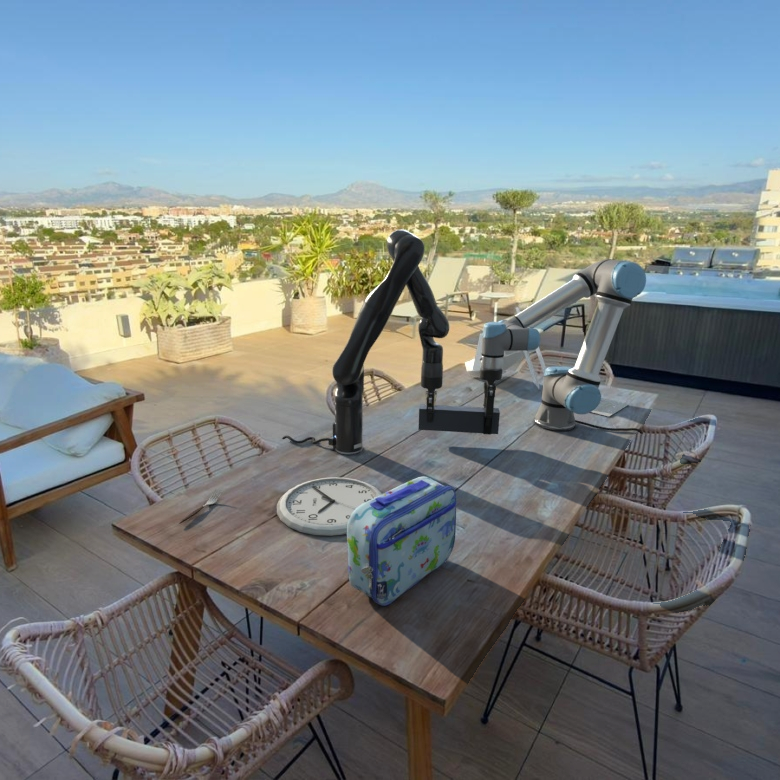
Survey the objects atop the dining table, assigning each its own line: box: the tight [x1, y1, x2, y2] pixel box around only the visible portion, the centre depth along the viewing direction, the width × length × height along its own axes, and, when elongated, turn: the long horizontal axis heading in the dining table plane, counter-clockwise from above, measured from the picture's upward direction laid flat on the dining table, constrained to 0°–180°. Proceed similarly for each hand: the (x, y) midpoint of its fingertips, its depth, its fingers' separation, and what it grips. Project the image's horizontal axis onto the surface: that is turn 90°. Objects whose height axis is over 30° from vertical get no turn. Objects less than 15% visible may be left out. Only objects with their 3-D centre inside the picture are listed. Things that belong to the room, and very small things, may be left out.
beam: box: [418, 403, 501, 435], centre depth 186 cm, size 28×5×8 cm, turn 83°
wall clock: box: [276, 476, 384, 537], centre depth 142 cm, size 30×2×30 cm
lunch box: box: [346, 475, 457, 607], centre depth 111 cm, size 26×11×21 cm, turn 134°
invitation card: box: [590, 398, 629, 418], centre depth 226 cm, size 21×1×15 cm
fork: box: [178, 489, 223, 525], centre depth 139 cm, size 3×16×2 cm, turn 160°
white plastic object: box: [464, 306, 547, 390], centre depth 260 cm, size 37×45×31 cm
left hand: (430, 419), depth 187 cm, fingers closed on beam, 5 cm apart
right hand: (486, 430), depth 186 cm, fingers closed on beam, 5 cm apart
